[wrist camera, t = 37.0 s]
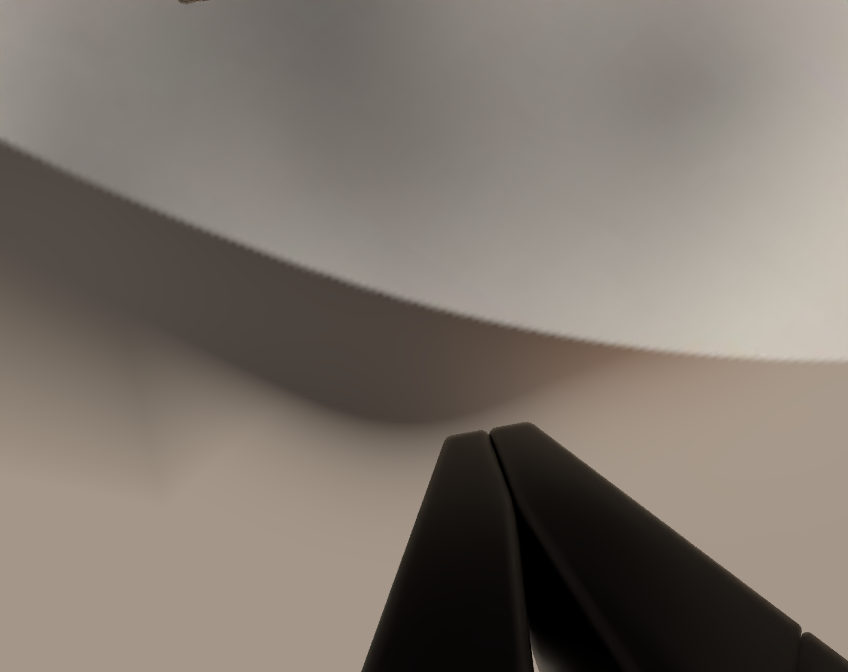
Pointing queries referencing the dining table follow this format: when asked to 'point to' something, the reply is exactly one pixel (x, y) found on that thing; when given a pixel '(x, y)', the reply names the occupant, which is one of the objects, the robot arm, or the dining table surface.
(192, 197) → the dining table surface
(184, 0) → the drawer
